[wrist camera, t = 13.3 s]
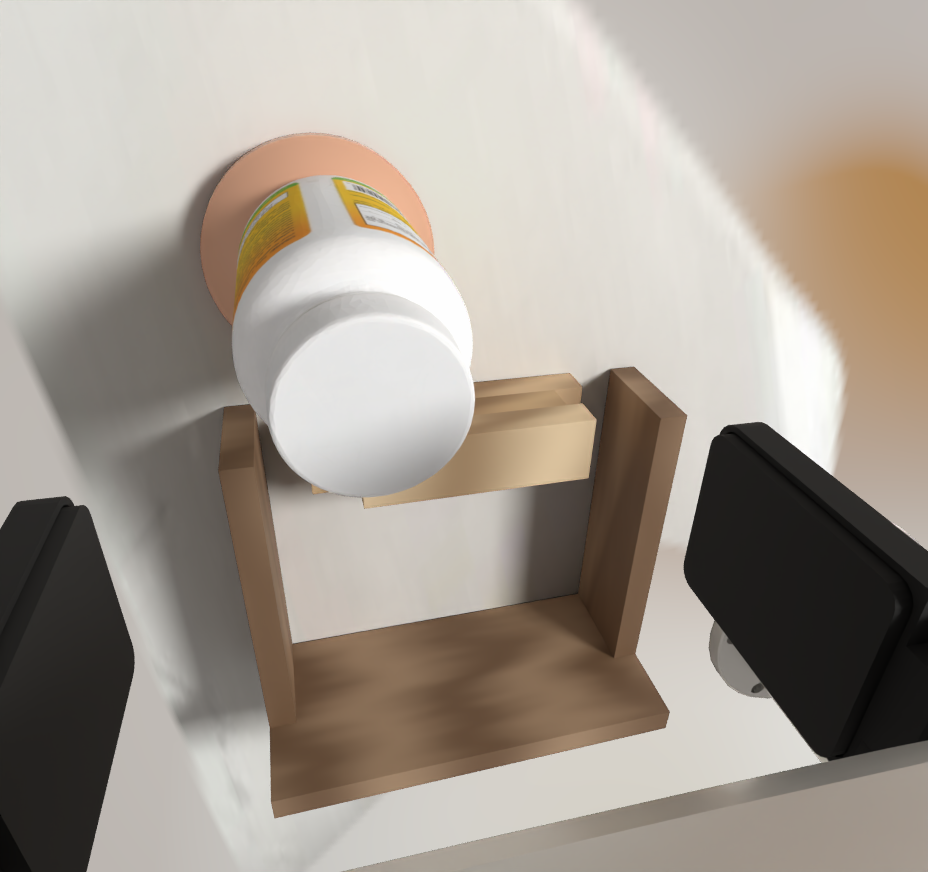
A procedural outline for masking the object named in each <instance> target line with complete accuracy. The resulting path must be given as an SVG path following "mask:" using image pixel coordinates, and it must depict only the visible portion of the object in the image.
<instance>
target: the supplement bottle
mask: <svg viewBox="0 0 928 872" xmlns="http://www.w3.org/2000/svg"><path fill="white" fill-rule="evenodd" d="M472 346H473V339H472V329H471V324H470V319H469V315H468V312H467V309H466V306H465V304H464V301H463V299H462V297H461V295H460V293H459V291H458V289H457V288H456V286H455V284H454V282H453V281H452V279H451V277H450V276H449V275H448V273H447V272H446V270H445V269H444V268H443V266H442V265H441V264H440V262H439V261H438V260H437V259H436V257H435V256H434V255H433V253H432V252H431V251H430V250H429V248H428V247H427V245H426V244H425V243H424V241H423V240H422V239H421V237H420V236H419V235H418V234H417V232H416V231H415V230H414V228H413V227H412V226H411V224H410V223H409V222H408V220H407V219H406V218H405V217H404V215H403V214H402V213H401V212H400V210H399V209H398V208H397V207H396V206H395V205H394V204H393V203H392V202H391V201H390V200H389V199H388V198H386V197H385V196H384V195H383V194H381V193H380V192H379V191H377V190H376V189H374V188H372V187H370V186H369V185H367V184H364V183H362V182H360V181H357V180H354V179H351V178H347V177H342V176H336V175H316V176H309V177H305V178H301V179H298V180H295V181H293V182H290V183H288V184H286V185H284V186H282V187H281V188H279V189H277V190H276V191H274V192H273V193H272V194H271V195H269V196H268V197H267V198H266V199H265V200H264V201H263V202H262V203H261V204H260V205H259V206H258V207H257V208H256V210H255V211H254V212H253V214H252V215H251V217H250V219H249V221H248V223H247V225H246V227H245V229H244V232H243V235H242V238H241V242H240V246H239V252H238V261H237V275H236V288H235V300H234V312H233V325H232V352H233V361H234V367H235V371H236V375H237V379H238V381H239V384H240V386H241V389H242V391H243V393H244V395H245V397H246V399H247V400H248V402H249V403H250V405H251V406H252V408H253V409H254V411H255V412H256V413H257V414H258V415H259V416H260V418H261V419H262V420H263V421H264V422H265V423H266V424H267V425H268V427H269V430H270V434H271V437H272V440H273V442H274V444H275V446H276V448H277V450H278V452H279V454H280V455H281V457H282V458H283V459H284V461H285V462H286V463H287V465H288V466H289V467H290V468H291V469H292V470H293V471H294V472H295V473H296V474H298V475H299V476H300V477H301V478H303V479H304V480H306V481H307V482H309V483H311V484H312V485H314V486H316V487H318V488H320V489H322V490H325V491H328V492H331V493H335V494H338V495H343V496H350V497H378V496H385V495H390V494H394V493H398V492H401V491H404V490H407V489H409V488H412V487H414V486H416V485H418V484H420V483H421V482H423V481H425V480H427V479H428V478H430V477H431V476H433V475H434V474H436V473H437V472H438V471H439V470H440V469H442V468H443V467H444V466H445V465H446V464H447V463H448V462H449V461H450V460H451V459H452V457H453V456H454V455H455V453H456V452H457V451H458V450H459V448H460V446H461V445H462V443H463V442H464V440H465V438H466V436H467V433H468V431H469V429H470V426H471V423H472V418H473V414H474V406H475V392H474V384H473V379H472V376H471V373H470V370H469V369H470V365H471V358H472Z"/></svg>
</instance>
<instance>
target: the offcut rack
mask: <svg viewBox="0 0 928 872" xmlns="http://www.w3.org/2000/svg"><path fill="white" fill-rule="evenodd" d="M473 384H474V392H475V406H474V414H473V418H472V423H471V426H470V429H469V431H468V433H467V436H466V438H465V440H464V442H463V443H462V445H461V446H460V448H459V450H458V451H457V452H456V453H455V455H454V456H453V457H452V459H451V460H450V461H449V462H448V463H447V464H446V465H445V466H444V467H443V468H442V469H440V470H439V471H438V472H437V473H436V474H434V475H433V476H431V477H430V478H428V479H427V480H425V481H423V482H421V483H420V484H418V485H416V486H414V487H412V488H409V489H407V490H404V491H401V492H398V493H394V494H390V495H385V496H378V497H362V501H363V505H364V509H366V508H373V507H381V506H388V505H395V504H403V503H410V502H417V501H425V500H432V499H439V498H447V497H454V496H461V495H469V494H476V493H483V492H491V491H498V490H505V489H513V488H520V487H527V486H535V485H542V484H550V483H557V482H564V481H572V480H579V479H586V478H589V471H590V464H591V457H592V449H593V442H594V435H595V428H596V421H597V420H596V418H595V417H594V416H593V415H592V414H591V413H590V411H589V410H588V409H587V408H586V407H585V406H584V404H583V403H582V404H580V402H581V394H582V386H581V385H580V384H579V383H578V381H577V380H576V379H575V378H574V377H573V376H572V375H571V374H570V373H566V374H556V375H545V376H535V377H525V378H515V379H505V380H494V381H484V382H474V383H473ZM686 419H687V415H686V414H685V413H684V412H683V411H682V410H681V409H680V408H678V407H677V406H676V405H675V404H674V403H673V402H672V401H671V400H670V399H669V398H668V397H666V396H665V395H664V394H663V393H662V392H661V391H660V390H659V389H658V388H657V387H656V386H654V385H653V384H652V383H651V382H650V381H649V380H648V379H647V378H646V377H645V376H644V375H642V374H641V373H640V372H639V371H638V370H637V369H636V368H635V367H627V368H617V369H611V371H610V378H609V384H608V391H607V398H606V405H605V412H604V419H603V426H602V433H601V439H600V446H599V453H598V460H597V467H596V474H595V481H594V488H593V494H592V501H591V508H590V515H589V522H588V529H587V536H586V543H585V550H584V556H583V563H582V570H581V577H580V584H579V591H578V594H574V595H568V596H563V597H557V598H551V599H546V600H540V601H534V602H529V603H523V604H517V605H512V606H506V607H500V608H495V609H489V610H483V611H478V612H472V613H466V614H461V615H455V616H449V617H444V618H438V619H432V620H427V621H421V622H415V623H410V624H404V625H399V626H393V627H387V628H382V629H376V630H370V631H365V632H359V633H353V634H348V635H342V636H336V637H331V638H325V639H319V640H314V641H308V642H302V643H297V644H292V639H291V633H290V626H289V620H288V614H287V607H286V601H285V595H284V588H283V582H282V576H281V569H280V563H279V557H278V550H277V544H276V538H275V531H274V525H273V519H272V512H271V506H270V500H269V493H268V487H267V481H266V474H265V468H264V462H263V455H262V449H261V443H260V437H259V430H258V424H257V418H256V412H255V411H254V409H253V408H252V406H251V405H239V406H229V407H224V413H223V424H222V435H221V447H220V458H219V469H218V472H219V477H220V482H221V487H222V492H223V497H224V502H225V507H226V512H227V517H228V522H229V527H230V532H231V537H232V542H233V547H234V551H235V556H236V561H237V566H238V571H239V576H240V581H241V586H242V591H243V596H244V601H245V606H246V611H247V616H248V621H249V626H250V631H251V636H252V641H253V646H254V651H255V656H256V661H257V666H258V671H259V676H260V681H261V686H262V691H263V696H264V701H265V706H266V711H267V716H268V721H269V726H270V765H271V804H272V809H273V813H274V818H278V817H283V816H287V815H291V814H296V813H300V812H304V811H309V810H313V809H317V808H322V807H326V806H330V805H335V804H339V803H343V802H347V801H352V800H356V799H360V798H365V797H369V796H373V795H378V794H382V793H386V792H391V791H395V790H399V789H404V788H408V787H412V786H416V785H420V784H425V783H429V782H433V781H438V780H442V779H447V778H451V777H455V776H459V775H464V774H468V773H472V772H477V771H481V770H485V769H490V768H494V767H498V766H503V765H507V764H511V763H516V762H520V761H524V760H528V759H533V758H537V757H542V756H546V755H550V754H555V753H559V752H563V751H568V750H572V749H576V748H580V747H584V746H589V745H593V744H598V743H602V742H606V741H611V740H614V739H619V738H624V737H628V736H632V735H637V734H641V733H645V732H650V731H654V730H658V729H662V728H665V727H666V724H667V720H668V716H669V713H670V712H669V710H668V708H667V706H666V705H665V703H664V701H663V700H662V698H661V696H660V695H659V693H658V691H657V690H656V688H655V686H654V685H653V683H652V681H651V680H650V678H649V676H648V675H647V673H646V671H645V670H644V668H643V666H642V664H641V663H640V661H639V660H638V658H637V656H636V654H635V652H636V648H637V644H638V639H639V634H640V630H641V625H642V621H643V616H644V611H645V607H646V602H647V598H648V593H649V588H650V584H651V579H652V575H653V570H654V565H655V561H656V556H657V552H658V547H659V543H660V538H661V533H662V529H663V524H664V520H665V515H666V511H667V506H668V501H669V497H670V492H671V488H672V483H673V478H674V474H675V469H676V465H677V460H678V455H679V451H680V446H681V442H682V437H683V433H684V428H685V423H686ZM311 485H312V484H311ZM326 492H328V491H325V490H322V489H320V488H318V487H316V486H314V485H312V493H313V494H318V493H326Z"/></svg>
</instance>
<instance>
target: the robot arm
mask: <svg viewBox="0 0 928 872" xmlns="http://www.w3.org/2000/svg"><path fill="white" fill-rule="evenodd" d="M684 574H685V578H686V580H687V583H688V585H689V586H690V588H691V589H692V590H693V592H694V593H695V594H696V596H697V597H698V598H699V600H700V601H701V602H702V604H703V605H704V606H705V608H706V609H707V610H708V612H709V613H710V614H711V616H712V617H713V618H714V620H715V621H714V624H713V627H712V630H711V633H710V642H709V651H710V657H711V661H712V663H713V665H714V667H715V668H716V671H717V672H718V673H719V674H720V676H721V677H722V678H723V680H724V681H725V682H726V684H727V685H728V686H729V687H731V688H732V689H734V690H735V691H737V692H738V693H741V694H743V695H746V696H750V697H759V698H773V700H774V701H775V702H776V704H777V705H778V706H779V708H780V709H781V710H782V712H783V713H784V714H785V716H786V717H787V718H788V719H789V721H790V722H791V723H792V725H793V726H794V727H795V729H796V730H797V731H798V733H799V734H800V735H801V737H802V738H803V739H804V740H805V742H806V743H807V745H808V746H809V747H810V748H811V750H812V751H813V752H814V754H815V755H816V756H817V757H818V759H819V760H820V762H821V763H819V764H815V765H811V766H805V767H801V768H797V769H792V770H787V771H783V772H779V773H774V774H769V775H765V776H760V777H756V778H751V779H746V780H742V781H738V782H733V783H728V784H724V785H719V786H715V787H711V788H706V789H701V790H697V791H693V792H688V793H684V794H679V795H675V796H670V797H666V798H661V799H657V800H653V801H648V802H644V803H640V804H635V805H630V806H626V807H622V808H617V809H613V810H608V811H604V812H599V813H595V814H591V815H586V816H582V817H578V818H573V819H569V820H564V821H560V822H555V823H551V824H547V825H543V826H538V827H533V828H529V829H525V830H520V831H516V832H511V833H507V834H503V835H498V836H494V837H489V838H485V839H481V840H476V841H472V842H467V843H463V844H459V845H455V846H450V847H446V848H442V849H438V850H434V851H429V852H424V853H420V854H416V855H412V856H407V857H403V858H399V859H394V860H390V861H386V862H382V863H377V864H373V865H369V866H364V867H360V868H356V869H351V870H347V871H343V872H928V551H927V550H926V549H924V548H923V547H922V546H921V545H919V543H918V542H917V541H916V540H915V539H914V538H913V537H912V536H911V535H909V534H908V533H907V532H906V531H905V530H903V529H902V528H901V527H899V526H897V525H896V524H894V523H893V522H891V521H889V520H888V519H886V518H885V517H884V516H882V515H881V514H880V513H879V512H877V511H876V510H875V509H874V508H872V507H871V506H870V505H868V504H867V503H866V502H865V501H863V500H862V499H861V498H860V497H858V496H857V495H856V494H855V493H853V492H852V491H851V490H849V489H848V488H847V487H846V486H844V485H843V484H842V483H840V482H839V481H838V480H837V479H835V478H834V477H833V476H832V475H830V474H829V473H828V472H827V471H825V470H824V469H823V468H821V467H820V466H819V465H818V464H816V463H815V462H814V461H813V460H811V459H810V458H809V457H807V456H806V455H805V454H804V453H802V452H801V451H800V450H799V449H797V448H796V447H795V446H794V445H792V444H791V443H790V442H788V441H787V440H786V439H785V438H783V437H782V436H781V435H780V434H778V433H777V432H776V431H774V430H773V429H772V428H771V427H769V426H768V425H766V424H765V423H763V422H754V423H745V424H736V425H728V426H726V427H724V428H723V429H722V431H721V432H720V435H718V436H716V437H714V439H713V440H712V443H711V446H710V450H709V455H708V459H707V463H706V468H705V472H704V477H703V481H702V485H701V490H700V494H699V499H698V503H697V507H696V512H695V516H694V521H693V525H692V529H691V534H690V538H689V543H688V547H687V551H686V556H685V560H684ZM134 663H135V662H134V650H133V646H132V642H131V639H130V636H129V633H128V630H127V627H126V623H125V620H124V617H123V614H122V611H121V608H120V605H119V602H118V598H117V595H116V592H115V589H114V586H113V583H112V580H111V577H110V573H109V570H108V567H107V564H106V561H105V558H104V555H103V551H102V548H101V545H100V542H99V539H98V536H97V533H96V530H95V526H94V523H93V520H92V517H91V514H90V512H89V510H88V508H87V507H86V506H84V505H80V506H74V504H73V502H72V501H71V500H70V498H68V497H66V496H64V497H54V498H45V499H36V500H27V501H20V502H17V503H16V504H15V505H14V507H13V508H12V510H11V512H10V514H9V515H8V517H7V519H6V520H5V522H4V524H3V525H2V527H1V529H0V872H86V871H87V867H88V863H89V858H90V855H91V850H92V846H93V842H94V838H95V833H96V829H97V825H98V820H99V817H100V813H101V808H102V804H103V800H104V796H105V791H106V787H107V783H108V779H109V774H110V770H111V766H112V762H113V758H114V754H115V749H116V745H117V741H118V737H119V733H120V728H121V724H122V720H123V716H124V711H125V707H126V703H127V699H128V695H129V690H130V686H131V682H132V678H133V673H134Z"/></svg>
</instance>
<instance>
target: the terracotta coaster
mask: <svg viewBox="0 0 928 872" xmlns="http://www.w3.org/2000/svg"><path fill="white" fill-rule="evenodd" d="M316 175H336V176H342V177H347V178H351V179H354V180H357V181H360V182H362V183H364V184H367V185H369V186H370V187H372V188H374V189H376V190H377V191H379V192H380V193H381V194H383V195H384V196H385V197H386V198H388V199H389V200H390V201H391V202H392V203H393V204H394V205H395V206H396V207H397V208H398V209H399V210H400V212H401V213H402V214H403V215H404V217H405V218H406V219H407V220H408V222H409V223H410V224H411V226H412V227H413V228H414V230H415V231H416V232H417V234H418V235H419V236H420V237H421V239H422V240H423V241H424V243H425V244H426V245H427V247H428V248H429V250H430V251H431V252H432V253H433V255H434V242H433V236H432V231H431V226H430V223H429V220H428V217H427V214H426V211H425V209H424V207H423V205H422V203H421V201H420V199H419V197H418V195H417V194H416V192H415V191H414V189H413V188H412V186H411V185H410V184H409V183H408V181H407V180H406V179H405V178H404V177H403V176H402V174H401V173H400V172H399V171H398V170H397V169H396V168H395V167H394V166H393V165H392V164H390V163H389V162H388V161H387V160H386V159H385V158H384V157H382V156H381V155H379V154H378V153H376V152H375V151H373V150H372V149H370V148H368V147H366V146H364V145H362V144H360V143H358V142H356V141H353V140H350V139H347V138H344V137H341V136H336V135H330V134H324V133H300V134H292V135H287V136H283V137H278V138H276V139H273V140H270V141H268V142H265V143H263V144H261V145H259V146H258V147H256V148H254V149H252V150H250V151H249V152H248V153H246V154H245V155H244V156H242V157H241V158H240V159H239V160H237V161H236V162H235V163H234V164H233V165H232V166H231V167H230V169H229V170H228V171H227V172H226V173H225V174H224V176H223V177H222V179H221V180H220V181H219V183H218V184H217V186H216V188H215V190H214V192H213V194H212V196H211V198H210V201H209V204H208V207H207V210H206V213H205V216H204V220H203V225H202V231H201V242H200V254H201V263H202V269H203V273H204V277H205V281H206V284H207V286H208V289H209V291H210V294H211V296H212V298H213V300H214V302H215V303H216V305H217V307H218V309H219V310H220V312H221V313H222V314H223V316H224V317H225V318H226V320H227V321H228V322H229V323H230V324H231V325H233V312H234V300H235V288H236V275H237V261H238V252H239V246H240V242H241V238H242V235H243V232H244V229H245V227H246V225H247V223H248V221H249V219H250V217H251V215H252V214H253V212H254V211H255V210H256V208H257V207H258V206H259V205H260V204H261V203H262V202H263V201H264V200H265V199H266V198H267V197H268V196H269V195H271V194H272V193H273V192H274V191H276V190H277V189H279V188H281V187H282V186H284V185H286V184H288V183H290V182H293V181H295V180H298V179H301V178H305V177H309V176H316Z"/></svg>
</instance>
